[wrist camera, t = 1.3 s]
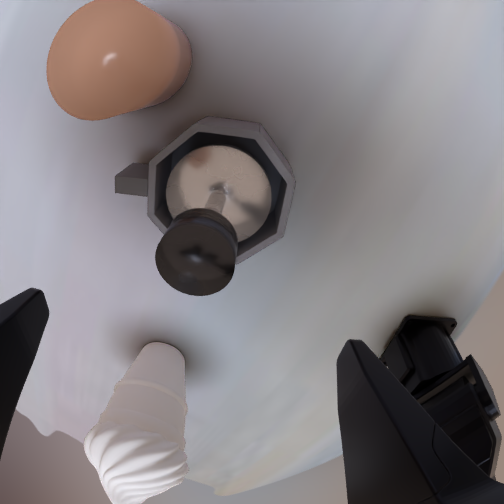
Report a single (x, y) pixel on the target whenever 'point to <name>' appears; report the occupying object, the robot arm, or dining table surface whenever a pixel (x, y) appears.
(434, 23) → the dining table surface
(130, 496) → the soft serve ice cream cone
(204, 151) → the plunger
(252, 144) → the gray octagonal container
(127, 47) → the peach rounded capsule
